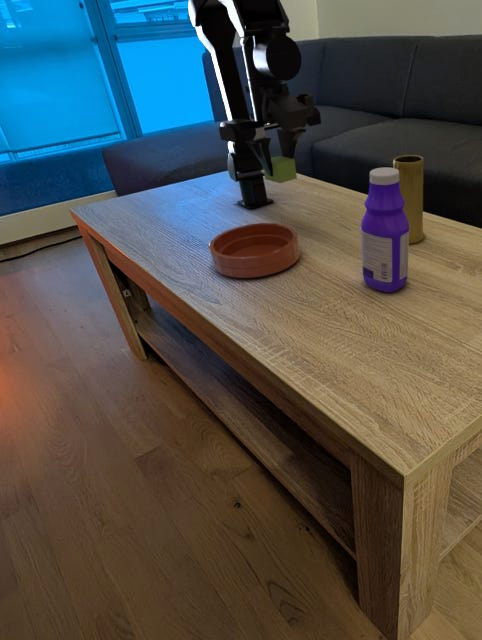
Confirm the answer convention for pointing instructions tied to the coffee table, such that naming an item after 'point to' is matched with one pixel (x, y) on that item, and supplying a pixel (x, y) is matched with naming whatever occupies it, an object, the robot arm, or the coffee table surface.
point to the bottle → (385, 233)
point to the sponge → (282, 169)
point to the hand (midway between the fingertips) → (279, 173)
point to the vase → (412, 192)
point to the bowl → (255, 250)
